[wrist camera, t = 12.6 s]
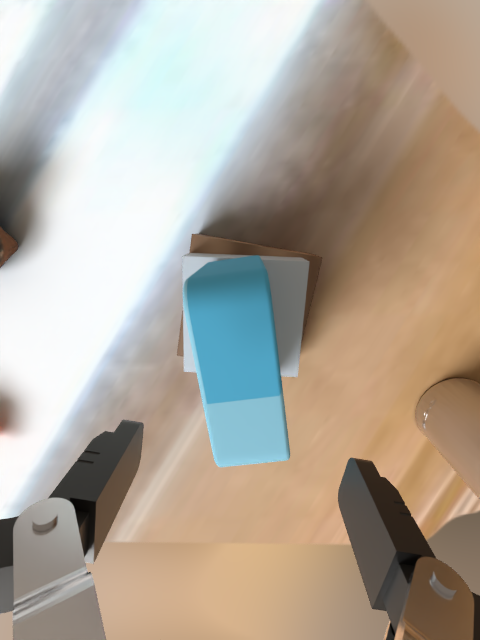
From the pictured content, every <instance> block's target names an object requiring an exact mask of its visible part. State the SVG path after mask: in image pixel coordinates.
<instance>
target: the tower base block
mask: <svg viewBox="0 0 480 640" xmlns="http://www.w3.org/2000/svg"><path fill="white" fill-rule="evenodd" d="M190 253H207V254H230V255H259V256H277V257H301V258H304V259H305V260H307V261H309V271H308V281H307V291H306V300H305V310H304V320H303V329H302V338H303V334H304V330H305V326H306V322H307V318H308V314H309V310H310V306H311V302H312V298H313V293H314V289H315V285H316V281H317V277H318V273H319V269H320V265H321V261H322V257H319V256H317V255H314V254H308V253H303V252H297V251H292V250H286V249H281V248H275V247H270V246H264V245H259V244H253V243H247V242H242V241H236V240H231V239H225V238H220V237H214V236H209V235H203V234H192V238H191V246H190ZM301 342H302V339H301ZM177 355H178V356H183V357H184V342H183V311H182V319H181V327H180V335H179V343H178V351H177Z"/></svg>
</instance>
